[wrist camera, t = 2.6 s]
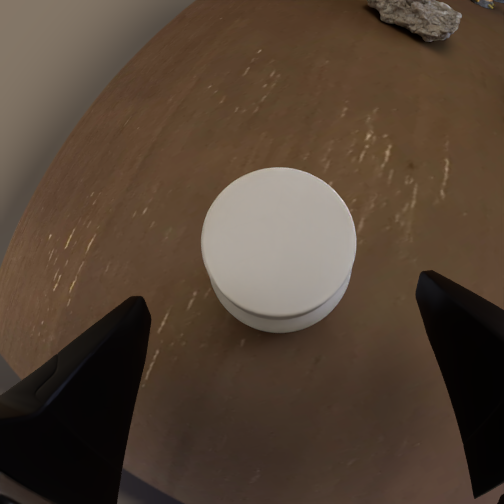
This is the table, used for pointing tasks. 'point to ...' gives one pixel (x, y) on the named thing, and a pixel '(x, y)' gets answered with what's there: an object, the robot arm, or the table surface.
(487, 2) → the mug
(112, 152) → the table surface
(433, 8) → the mineral specimen
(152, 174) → the table surface
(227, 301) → the pill bottle
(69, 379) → the robot arm
